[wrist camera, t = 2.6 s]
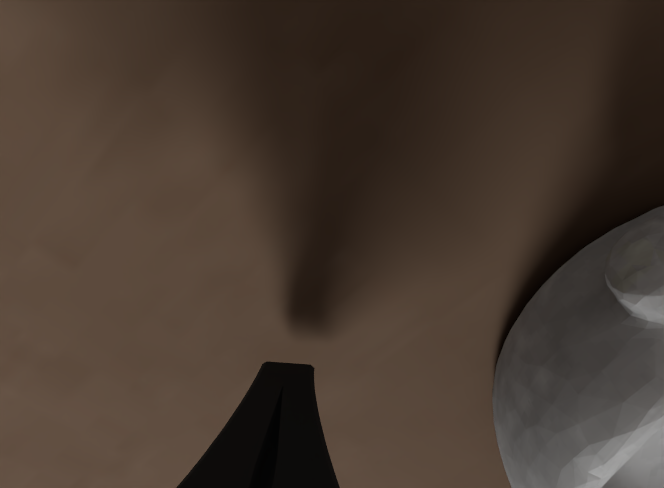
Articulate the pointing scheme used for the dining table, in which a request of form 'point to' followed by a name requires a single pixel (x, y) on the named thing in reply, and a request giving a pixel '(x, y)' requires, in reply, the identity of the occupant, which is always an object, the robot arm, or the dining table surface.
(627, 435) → the dish
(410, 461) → the dining table surface
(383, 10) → the dining table surface
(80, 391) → the dining table surface
